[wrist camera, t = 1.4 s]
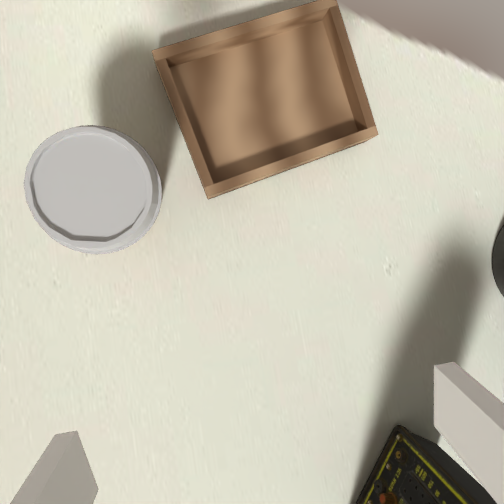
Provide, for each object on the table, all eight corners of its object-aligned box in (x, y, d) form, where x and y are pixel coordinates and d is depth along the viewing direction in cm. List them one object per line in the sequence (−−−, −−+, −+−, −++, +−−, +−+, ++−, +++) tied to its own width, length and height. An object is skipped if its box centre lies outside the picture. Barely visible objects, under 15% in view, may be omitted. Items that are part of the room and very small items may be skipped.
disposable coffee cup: (65, 215, 33) (-13, 207, 21) (115, 140, 33) (65, 91, 21) (145, 263, 35) (113, 280, 23) (191, 191, 35) (184, 171, 23)
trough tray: (324, 14, 36) (334, -5, 33) (364, 142, 37) (378, 134, 34) (156, 66, 33) (151, 50, 30) (207, 199, 35) (208, 196, 32)
